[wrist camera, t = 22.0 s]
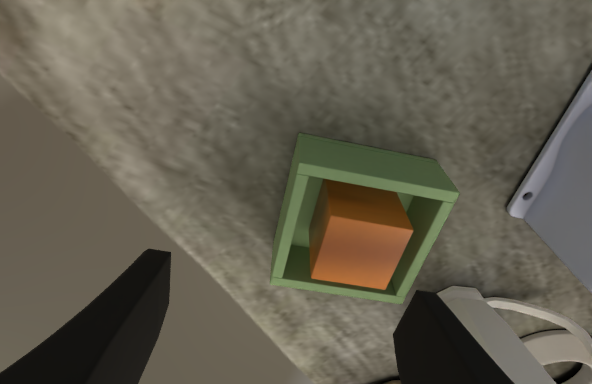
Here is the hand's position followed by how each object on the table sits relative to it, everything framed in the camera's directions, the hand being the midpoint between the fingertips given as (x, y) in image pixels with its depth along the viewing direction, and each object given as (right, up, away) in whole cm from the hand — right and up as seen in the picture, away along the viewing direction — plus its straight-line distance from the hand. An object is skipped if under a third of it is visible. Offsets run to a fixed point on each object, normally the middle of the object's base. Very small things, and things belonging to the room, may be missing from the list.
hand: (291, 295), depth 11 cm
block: (+3, +2, +10) cm, 11 cm away
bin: (+3, +2, +11) cm, 11 cm away
